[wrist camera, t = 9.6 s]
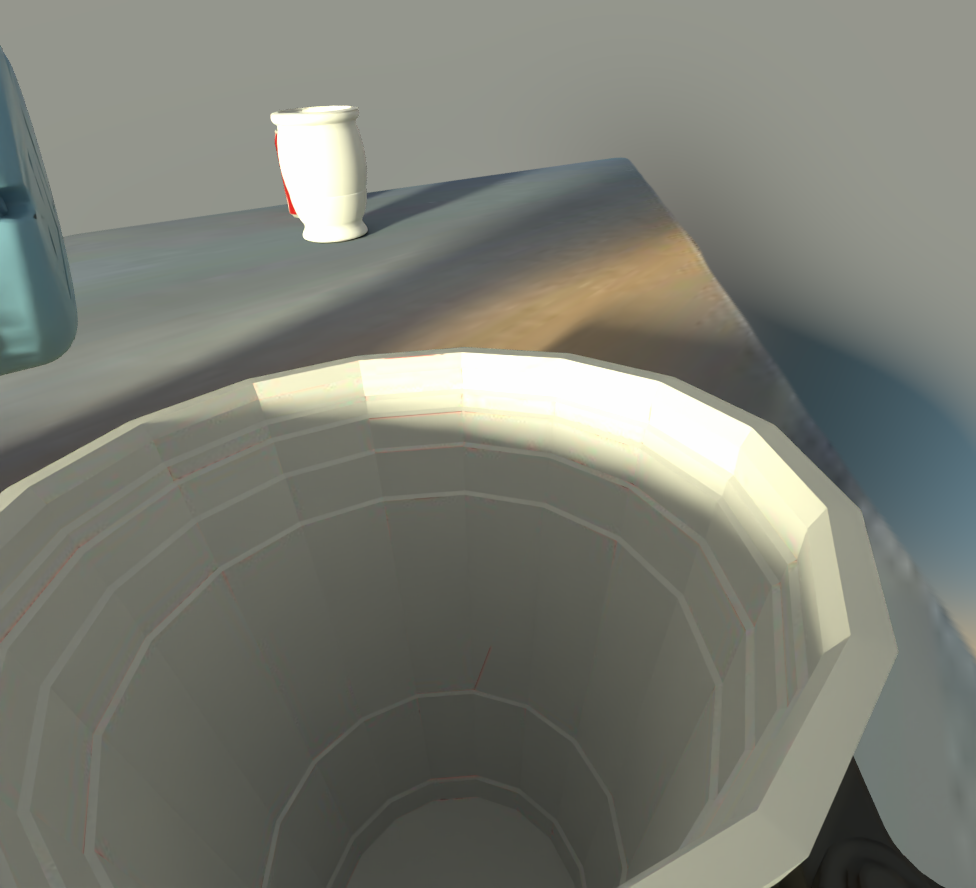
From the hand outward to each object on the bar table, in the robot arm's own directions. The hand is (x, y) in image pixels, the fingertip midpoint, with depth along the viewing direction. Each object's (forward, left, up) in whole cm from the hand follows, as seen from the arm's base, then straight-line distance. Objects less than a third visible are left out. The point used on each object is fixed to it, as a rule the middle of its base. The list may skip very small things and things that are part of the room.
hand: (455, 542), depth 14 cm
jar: (-54, +57, -12) cm, 79 cm away
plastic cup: (+2, -4, -7) cm, 8 cm away
